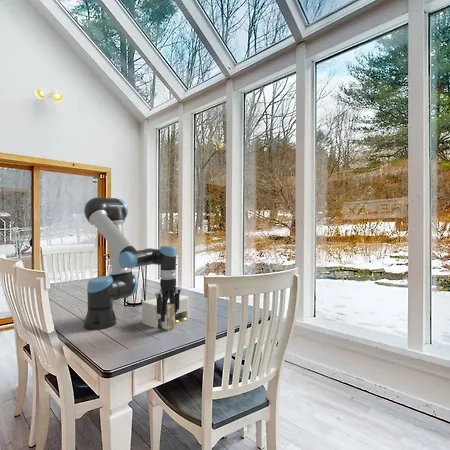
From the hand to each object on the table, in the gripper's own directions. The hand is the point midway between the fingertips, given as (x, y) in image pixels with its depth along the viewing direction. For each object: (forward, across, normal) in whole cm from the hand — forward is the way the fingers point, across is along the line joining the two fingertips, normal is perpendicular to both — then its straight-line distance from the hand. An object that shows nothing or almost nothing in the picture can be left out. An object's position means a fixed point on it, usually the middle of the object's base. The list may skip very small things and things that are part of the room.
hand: (168, 326), depth 153 cm
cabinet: (+1, +8, +11) cm, 13 cm away
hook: (+1, +6, +4) cm, 8 cm away
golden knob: (+1, +8, +6) cm, 10 cm away
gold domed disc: (+1, +14, +6) cm, 15 cm away
